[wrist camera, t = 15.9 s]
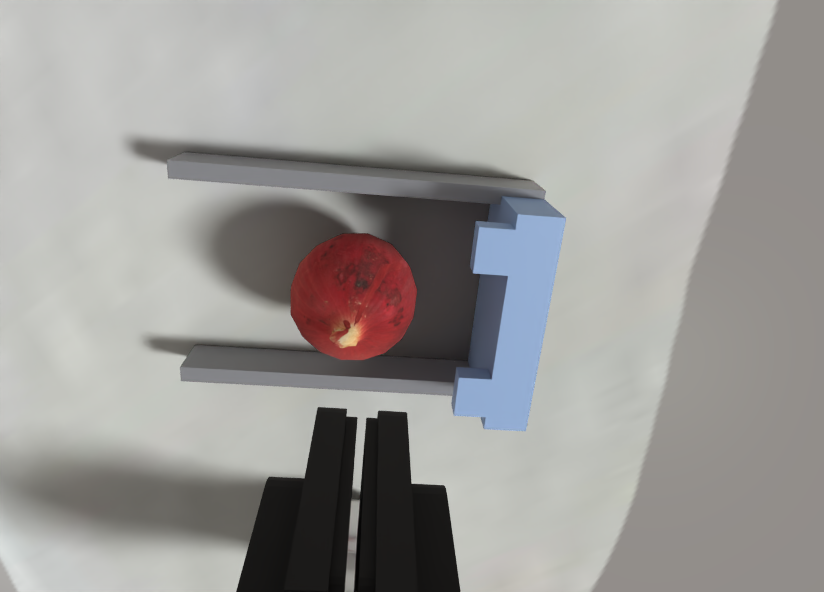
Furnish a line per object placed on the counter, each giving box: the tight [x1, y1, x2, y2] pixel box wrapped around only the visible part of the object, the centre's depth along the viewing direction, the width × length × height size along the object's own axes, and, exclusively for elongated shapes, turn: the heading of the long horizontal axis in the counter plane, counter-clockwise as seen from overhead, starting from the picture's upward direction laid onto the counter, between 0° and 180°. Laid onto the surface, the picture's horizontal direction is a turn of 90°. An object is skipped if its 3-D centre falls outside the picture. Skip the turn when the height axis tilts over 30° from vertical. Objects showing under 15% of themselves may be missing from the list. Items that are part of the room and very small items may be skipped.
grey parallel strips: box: [167, 152, 546, 396], centre depth 28 cm, size 21×17×2 cm
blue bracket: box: [452, 196, 566, 431], centre depth 28 cm, size 10×4×6 cm, turn 175°
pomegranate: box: [291, 233, 417, 360], centre depth 27 cm, size 6×6×8 cm
